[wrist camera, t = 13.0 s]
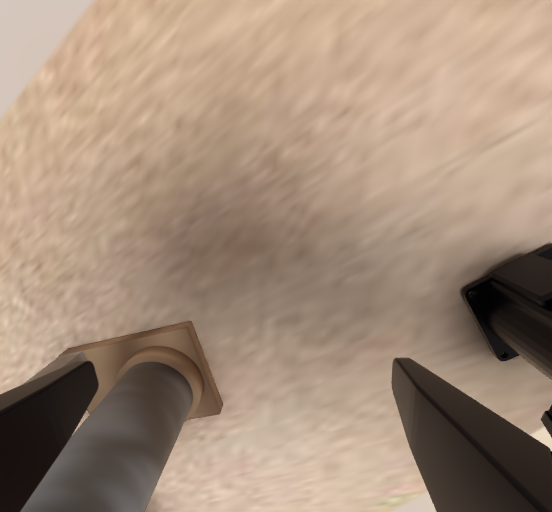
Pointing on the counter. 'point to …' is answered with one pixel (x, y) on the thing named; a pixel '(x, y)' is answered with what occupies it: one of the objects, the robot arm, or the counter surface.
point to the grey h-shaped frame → (121, 349)
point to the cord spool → (124, 438)
